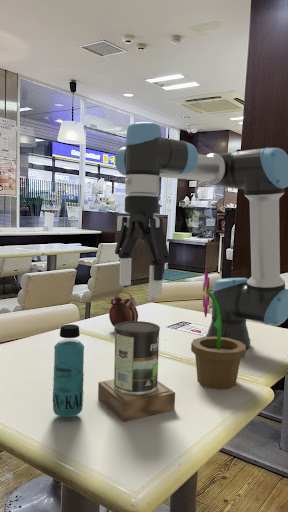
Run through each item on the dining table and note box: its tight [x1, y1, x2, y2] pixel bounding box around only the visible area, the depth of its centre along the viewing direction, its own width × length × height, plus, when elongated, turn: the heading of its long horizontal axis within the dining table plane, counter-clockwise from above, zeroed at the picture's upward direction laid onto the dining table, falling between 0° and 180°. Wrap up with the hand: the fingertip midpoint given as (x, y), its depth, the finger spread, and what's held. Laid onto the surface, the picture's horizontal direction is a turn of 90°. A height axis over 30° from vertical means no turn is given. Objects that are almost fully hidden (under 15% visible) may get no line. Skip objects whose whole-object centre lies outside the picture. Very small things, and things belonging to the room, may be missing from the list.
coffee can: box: [113, 320, 161, 395], centre depth 97 cm, size 10×10×14 cm
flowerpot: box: [190, 268, 247, 390], centre depth 112 cm, size 14×14×30 cm
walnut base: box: [97, 378, 176, 423], centre depth 98 cm, size 13×13×4 cm
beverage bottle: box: [51, 324, 85, 418], centre depth 90 cm, size 6×7×20 cm
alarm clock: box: [108, 291, 139, 331], centre depth 159 cm, size 11×5×15 cm, turn 58°
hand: (139, 290), depth 96 cm, fingers open, 13 cm apart
